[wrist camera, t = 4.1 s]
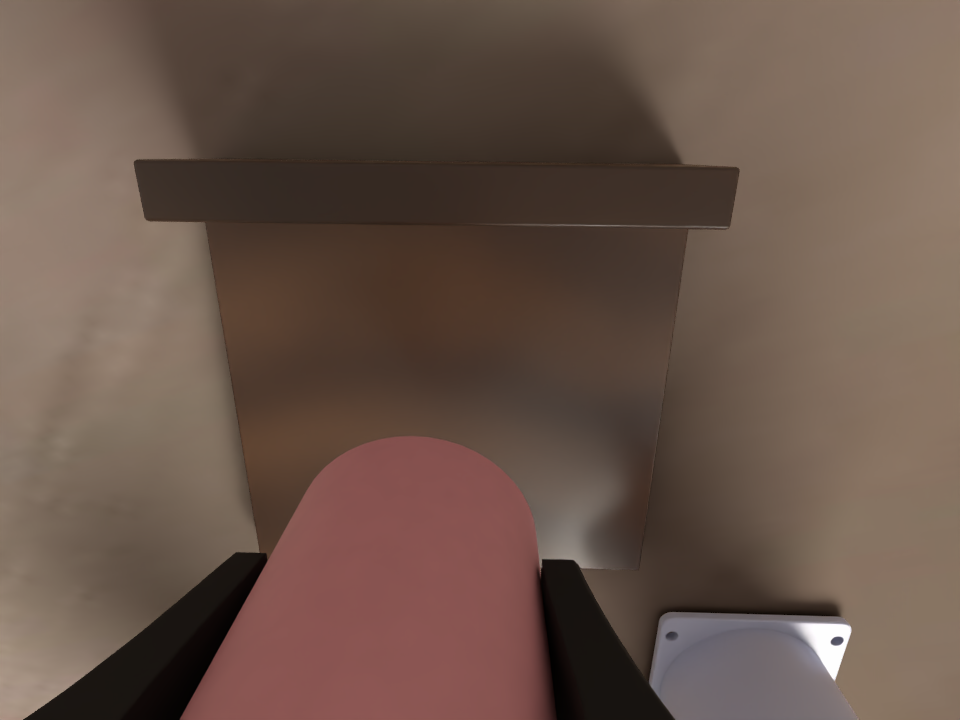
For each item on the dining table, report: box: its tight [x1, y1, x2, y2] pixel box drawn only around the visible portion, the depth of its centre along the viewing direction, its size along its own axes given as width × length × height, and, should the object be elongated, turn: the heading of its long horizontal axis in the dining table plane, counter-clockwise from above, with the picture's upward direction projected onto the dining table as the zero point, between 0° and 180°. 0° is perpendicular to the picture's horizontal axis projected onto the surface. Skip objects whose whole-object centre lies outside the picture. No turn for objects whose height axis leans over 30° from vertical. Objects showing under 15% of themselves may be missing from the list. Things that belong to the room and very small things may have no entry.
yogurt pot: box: [180, 436, 557, 720], centre depth 9 cm, size 6×6×7 cm
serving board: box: [134, 159, 739, 570], centre depth 18 cm, size 15×15×4 cm
